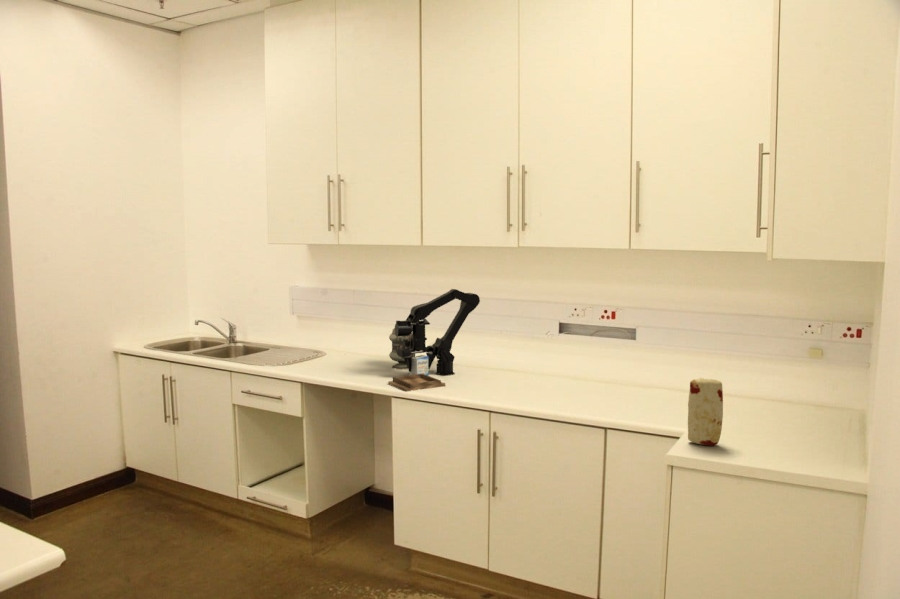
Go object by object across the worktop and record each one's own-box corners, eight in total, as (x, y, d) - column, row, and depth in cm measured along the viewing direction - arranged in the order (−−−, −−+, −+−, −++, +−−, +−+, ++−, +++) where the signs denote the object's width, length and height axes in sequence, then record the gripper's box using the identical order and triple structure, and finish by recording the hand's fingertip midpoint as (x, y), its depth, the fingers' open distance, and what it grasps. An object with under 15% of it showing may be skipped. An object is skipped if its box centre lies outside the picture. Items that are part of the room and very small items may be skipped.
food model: (685, 445, 208) (687, 378, 206) (688, 439, 214) (690, 374, 212) (720, 449, 204) (723, 381, 202) (723, 443, 210) (725, 377, 208)
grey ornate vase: (403, 363, 336) (402, 326, 334) (420, 366, 327) (420, 328, 326) (384, 367, 327) (383, 329, 325) (401, 370, 319) (400, 331, 317)
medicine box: (417, 378, 303) (417, 358, 302) (409, 377, 305) (409, 357, 304) (428, 375, 309) (428, 355, 308) (421, 374, 311) (420, 354, 311)
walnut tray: (426, 378, 301) (426, 373, 301) (445, 385, 288) (445, 379, 287) (388, 383, 292) (388, 377, 292) (406, 391, 279) (405, 385, 278)
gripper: (428, 331, 317) (428, 365, 318) (391, 334, 307) (391, 369, 309) (440, 334, 307) (441, 369, 309) (402, 337, 298) (403, 374, 299)
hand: (419, 370), depth 307 cm, fingers closed on medicine box, 9 cm apart
